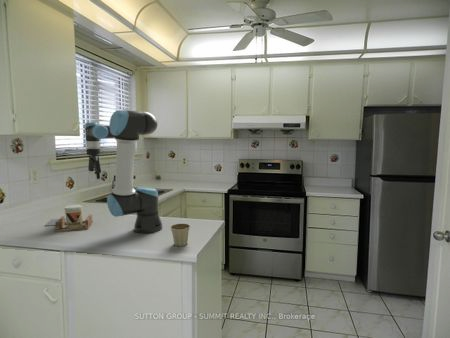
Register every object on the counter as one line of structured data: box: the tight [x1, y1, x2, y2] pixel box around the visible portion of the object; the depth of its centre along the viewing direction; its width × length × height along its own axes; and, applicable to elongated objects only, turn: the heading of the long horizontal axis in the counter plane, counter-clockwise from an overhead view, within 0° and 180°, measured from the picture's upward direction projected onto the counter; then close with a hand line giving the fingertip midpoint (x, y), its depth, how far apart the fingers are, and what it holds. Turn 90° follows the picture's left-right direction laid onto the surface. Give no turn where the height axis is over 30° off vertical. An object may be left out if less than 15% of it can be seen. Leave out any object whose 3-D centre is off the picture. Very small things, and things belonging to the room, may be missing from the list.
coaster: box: [43, 217, 67, 227], centre depth 179 cm, size 13×13×1 cm
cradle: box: [54, 214, 94, 233], centre depth 170 cm, size 15×16×5 cm
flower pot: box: [169, 223, 191, 247], centre depth 141 cm, size 9×9×9 cm
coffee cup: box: [64, 204, 84, 229], centre depth 169 cm, size 9×9×12 cm
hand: (95, 182), depth 182 cm, fingers open, 13 cm apart
